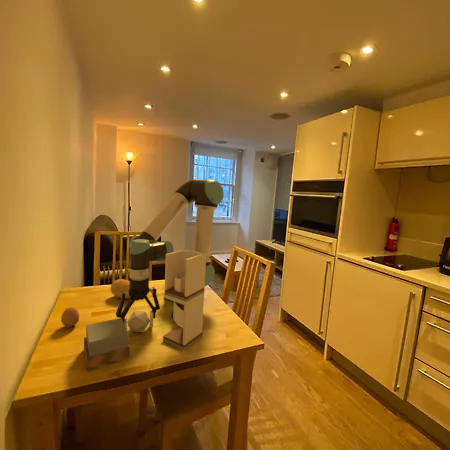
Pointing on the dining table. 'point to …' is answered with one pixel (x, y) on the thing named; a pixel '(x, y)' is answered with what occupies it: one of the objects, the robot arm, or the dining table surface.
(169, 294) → the display case
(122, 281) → the potato
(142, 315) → the die
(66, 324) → the egg
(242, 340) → the dining table surface
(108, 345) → the block
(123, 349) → the block
